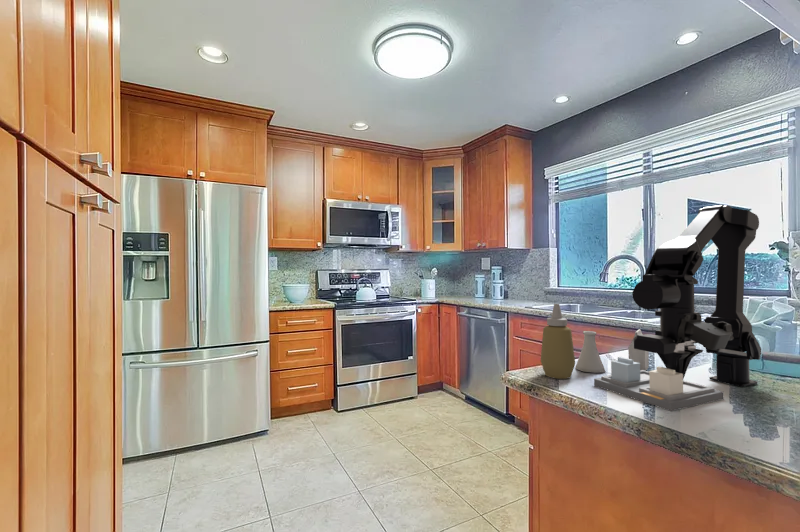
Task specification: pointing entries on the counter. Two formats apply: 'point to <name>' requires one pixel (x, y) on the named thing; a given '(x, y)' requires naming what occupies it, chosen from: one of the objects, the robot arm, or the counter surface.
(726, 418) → the counter surface
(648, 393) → the grey divided tray
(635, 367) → the tab blue
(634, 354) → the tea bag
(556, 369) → the squeeze bottle
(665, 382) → the tab ivory
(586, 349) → the flask
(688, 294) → the robot arm
